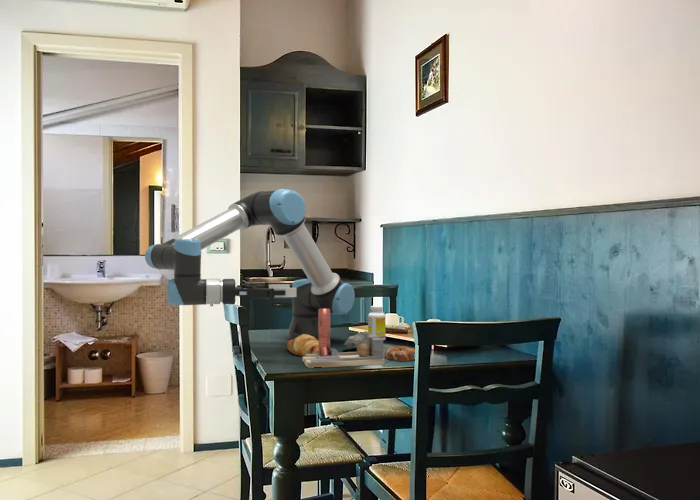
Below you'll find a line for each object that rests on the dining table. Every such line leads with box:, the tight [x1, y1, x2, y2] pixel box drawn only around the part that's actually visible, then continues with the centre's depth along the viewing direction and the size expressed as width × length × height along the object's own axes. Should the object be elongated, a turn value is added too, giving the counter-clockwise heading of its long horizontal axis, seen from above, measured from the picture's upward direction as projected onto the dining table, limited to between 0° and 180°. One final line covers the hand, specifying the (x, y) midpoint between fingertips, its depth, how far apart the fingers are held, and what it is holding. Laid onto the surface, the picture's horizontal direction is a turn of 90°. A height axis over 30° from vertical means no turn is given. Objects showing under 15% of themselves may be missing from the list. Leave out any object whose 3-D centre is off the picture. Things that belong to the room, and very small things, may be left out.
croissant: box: [286, 334, 319, 357], centre depth 201 cm, size 21×10×8 cm, turn 43°
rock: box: [342, 330, 372, 350], centre depth 207 cm, size 13×9×6 cm, turn 127°
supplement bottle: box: [367, 305, 387, 341], centre depth 228 cm, size 7×7×13 cm
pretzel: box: [384, 345, 416, 362], centre depth 194 cm, size 12×11×4 cm
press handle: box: [316, 308, 340, 359], centre depth 185 cm, size 7×6×15 cm
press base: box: [302, 335, 386, 369], centre depth 187 cm, size 10×24×8 cm, turn 104°
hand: (292, 290), depth 182 cm, fingers open, 13 cm apart
